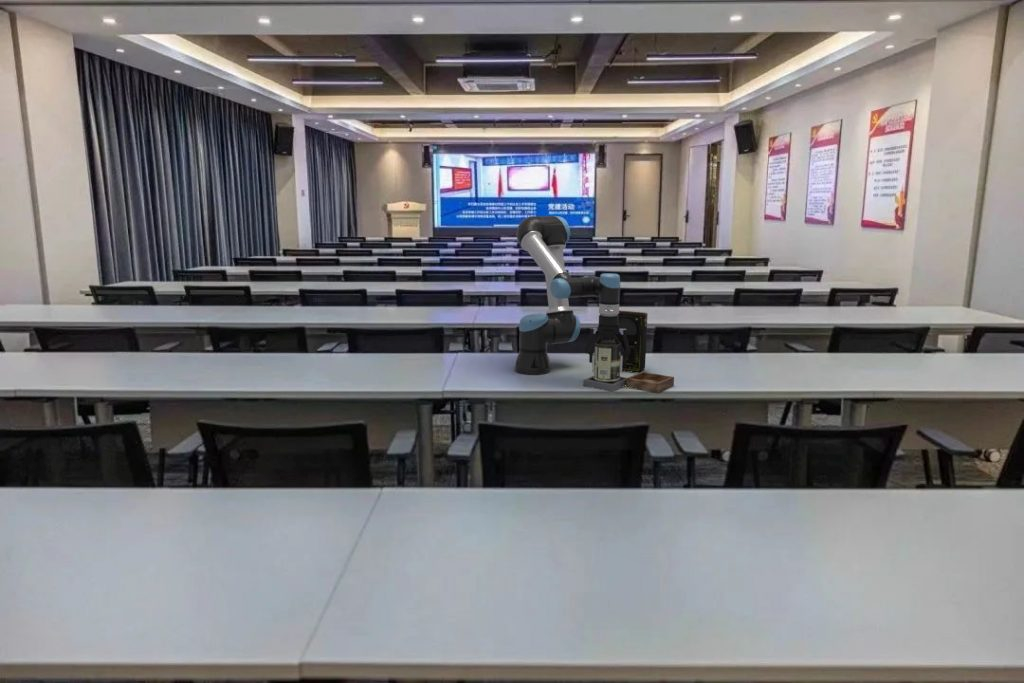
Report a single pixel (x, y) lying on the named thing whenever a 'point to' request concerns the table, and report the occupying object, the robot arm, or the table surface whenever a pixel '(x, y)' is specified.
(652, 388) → the walnut tray
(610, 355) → the coffee can
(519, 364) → the robot arm
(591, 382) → the checker cradle
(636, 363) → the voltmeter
